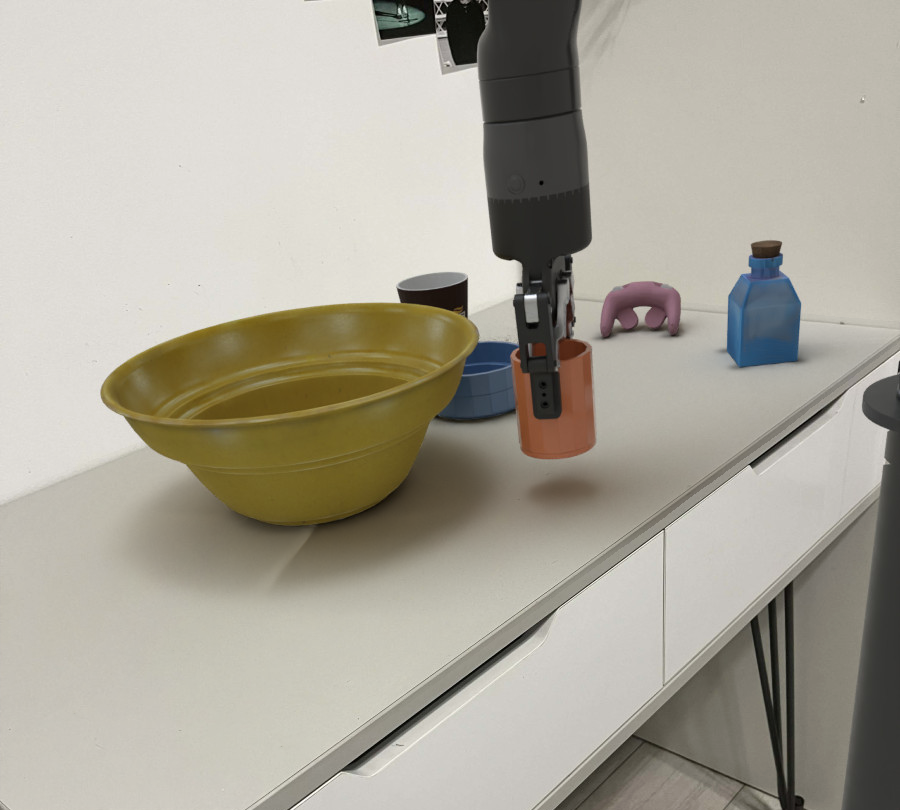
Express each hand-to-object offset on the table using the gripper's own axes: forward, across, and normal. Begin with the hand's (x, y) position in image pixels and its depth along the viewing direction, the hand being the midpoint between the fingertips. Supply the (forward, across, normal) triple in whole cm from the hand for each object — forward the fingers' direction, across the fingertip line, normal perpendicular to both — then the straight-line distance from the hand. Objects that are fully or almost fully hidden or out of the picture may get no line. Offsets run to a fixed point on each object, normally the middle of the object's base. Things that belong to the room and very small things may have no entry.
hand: (554, 401), depth 78 cm
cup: (+4, 0, 0) cm, 4 cm away
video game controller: (+9, +47, -4) cm, 48 cm away
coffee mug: (+8, +37, +21) cm, 43 cm away
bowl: (+8, +23, +12) cm, 27 cm away
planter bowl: (+8, 0, +22) cm, 24 cm away
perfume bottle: (+9, +35, -18) cm, 40 cm away
